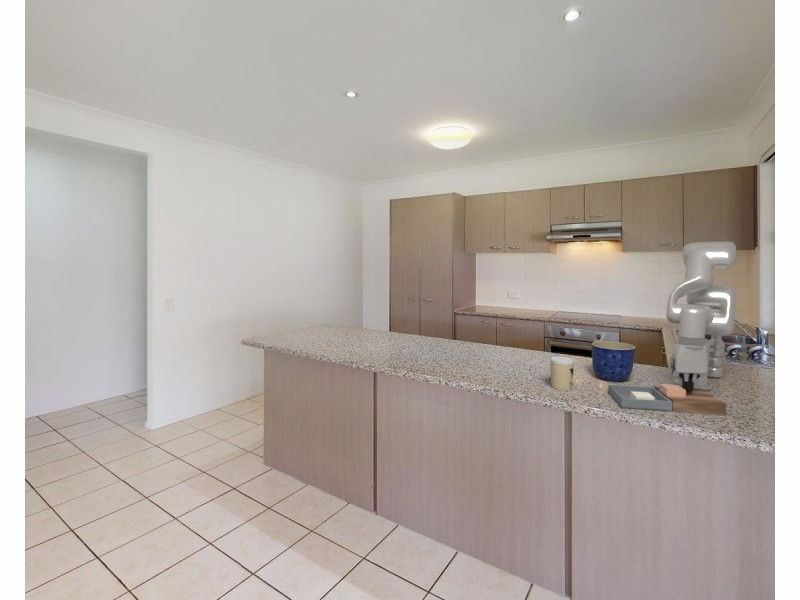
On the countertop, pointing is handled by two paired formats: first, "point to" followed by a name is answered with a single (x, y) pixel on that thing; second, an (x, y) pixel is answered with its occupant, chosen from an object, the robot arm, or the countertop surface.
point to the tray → (624, 401)
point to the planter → (612, 360)
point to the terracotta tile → (672, 390)
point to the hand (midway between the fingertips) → (687, 391)
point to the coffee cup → (561, 372)
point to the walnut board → (697, 403)
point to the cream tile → (641, 395)
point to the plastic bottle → (715, 356)
